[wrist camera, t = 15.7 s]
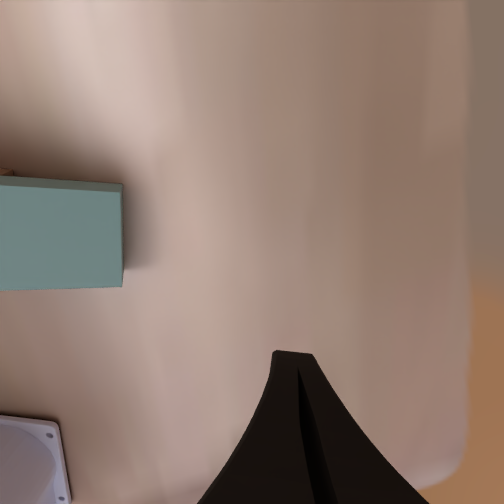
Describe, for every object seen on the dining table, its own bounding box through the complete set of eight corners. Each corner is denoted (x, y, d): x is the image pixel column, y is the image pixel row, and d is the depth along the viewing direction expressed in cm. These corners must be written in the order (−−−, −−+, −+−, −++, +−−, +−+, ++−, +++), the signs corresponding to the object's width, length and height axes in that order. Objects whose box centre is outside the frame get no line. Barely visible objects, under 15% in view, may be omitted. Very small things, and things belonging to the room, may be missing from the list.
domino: (122, 287, 17) (-135, 294, 13) (123, 270, 18) (-103, 273, 15) (120, 192, 15) (-177, 174, 12) (122, 183, 17) (-136, 166, 13)
